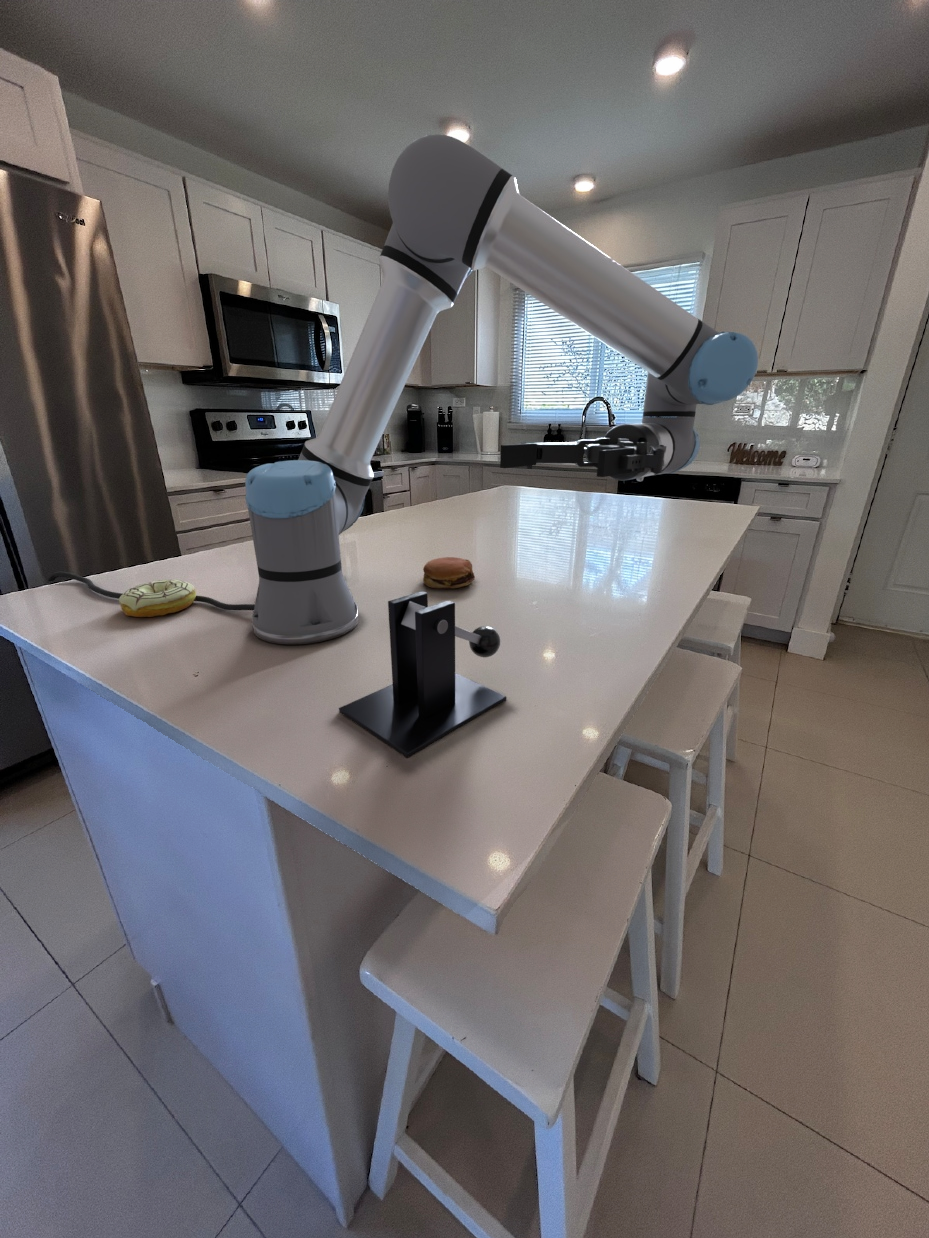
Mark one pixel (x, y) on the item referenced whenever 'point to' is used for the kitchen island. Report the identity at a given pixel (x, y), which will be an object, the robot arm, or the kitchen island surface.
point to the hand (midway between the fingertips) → (547, 460)
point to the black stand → (421, 683)
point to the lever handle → (463, 634)
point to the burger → (448, 573)
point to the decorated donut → (157, 598)
